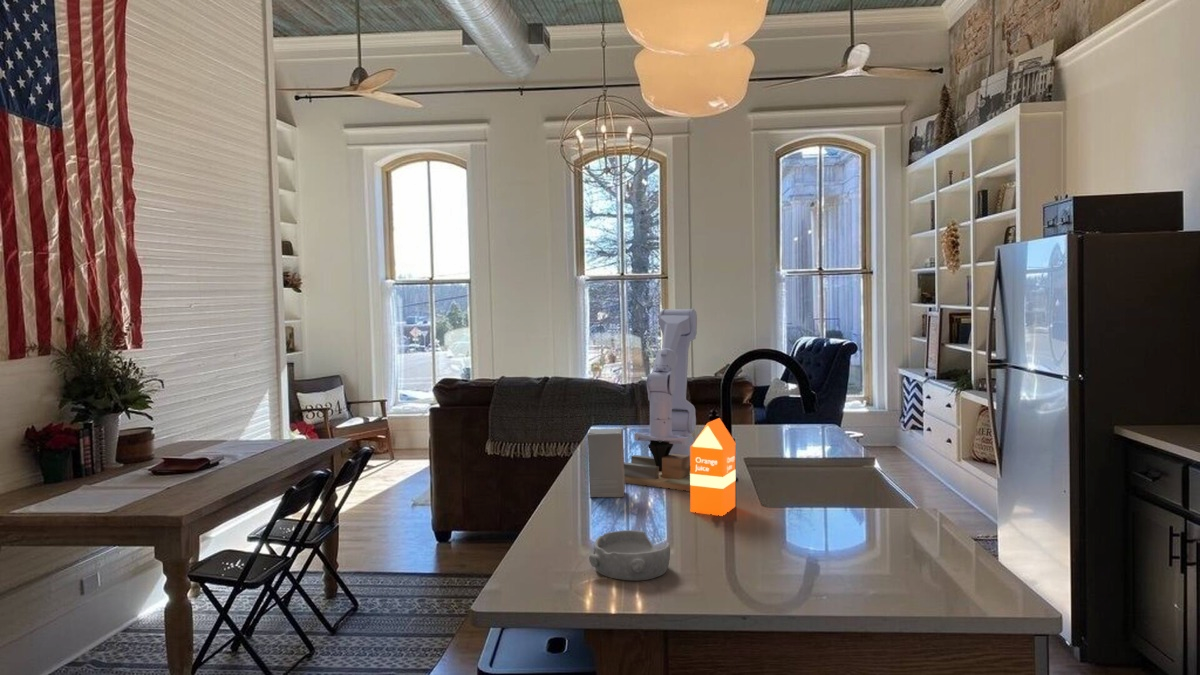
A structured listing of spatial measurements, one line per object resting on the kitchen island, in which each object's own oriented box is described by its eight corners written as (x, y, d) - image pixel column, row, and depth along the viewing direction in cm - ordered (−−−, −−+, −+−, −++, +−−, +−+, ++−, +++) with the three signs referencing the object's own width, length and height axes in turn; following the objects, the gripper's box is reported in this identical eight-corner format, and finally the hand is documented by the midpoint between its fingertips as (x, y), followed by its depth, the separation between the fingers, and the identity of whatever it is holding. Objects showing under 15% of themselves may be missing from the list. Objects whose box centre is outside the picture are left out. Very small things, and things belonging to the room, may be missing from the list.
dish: (624, 551, 148) (624, 525, 147) (686, 567, 139) (686, 539, 139) (573, 572, 136) (573, 544, 136) (637, 591, 128) (637, 561, 127)
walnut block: (672, 472, 205) (671, 453, 205) (689, 474, 202) (689, 455, 202) (661, 477, 200) (661, 457, 200) (679, 479, 197) (679, 459, 197)
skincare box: (625, 491, 192) (624, 427, 191) (623, 499, 185) (622, 432, 184) (590, 491, 192) (590, 427, 192) (587, 498, 185) (586, 432, 185)
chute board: (630, 469, 216) (630, 453, 216) (711, 479, 204) (711, 462, 203) (604, 480, 204) (604, 463, 203) (689, 491, 192) (689, 473, 191)
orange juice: (689, 511, 174) (689, 422, 173) (703, 502, 181) (703, 416, 180) (723, 516, 170) (723, 424, 169) (736, 506, 178) (736, 418, 177)
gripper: (628, 418, 203) (628, 470, 203) (679, 422, 195) (679, 476, 196) (641, 414, 209) (641, 465, 210) (691, 418, 201) (691, 471, 202)
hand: (660, 470), depth 203 cm, fingers closed
